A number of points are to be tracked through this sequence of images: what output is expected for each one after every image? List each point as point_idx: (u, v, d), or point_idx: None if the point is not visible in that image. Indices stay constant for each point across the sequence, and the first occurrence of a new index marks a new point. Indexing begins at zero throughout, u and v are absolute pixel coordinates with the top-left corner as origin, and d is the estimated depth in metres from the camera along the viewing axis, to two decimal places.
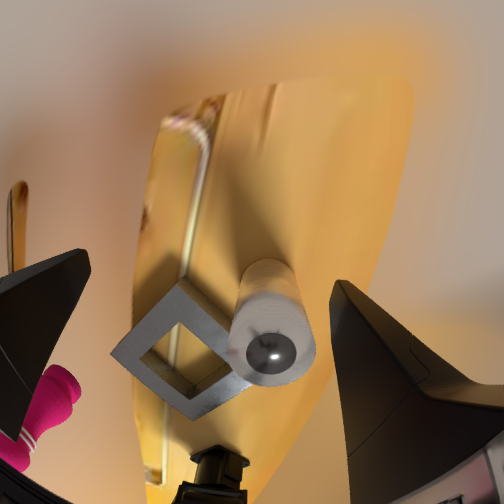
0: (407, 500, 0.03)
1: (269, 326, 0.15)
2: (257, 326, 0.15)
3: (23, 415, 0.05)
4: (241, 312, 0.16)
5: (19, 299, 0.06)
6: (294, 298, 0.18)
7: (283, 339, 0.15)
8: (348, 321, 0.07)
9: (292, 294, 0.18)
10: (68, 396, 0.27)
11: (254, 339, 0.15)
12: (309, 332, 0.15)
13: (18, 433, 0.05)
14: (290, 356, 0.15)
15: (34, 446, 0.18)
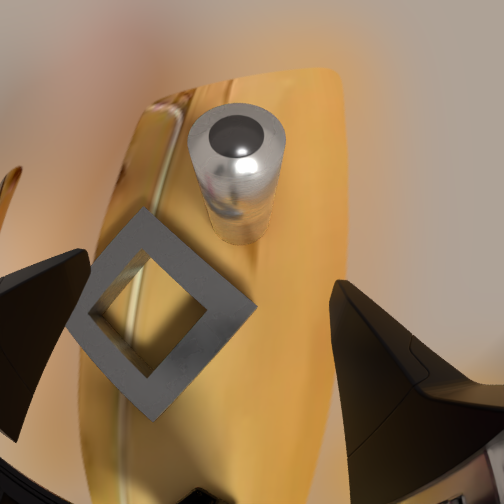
0: (407, 500, 0.03)
1: (231, 111, 0.14)
2: (219, 113, 0.14)
3: (23, 415, 0.05)
4: None
5: (19, 299, 0.06)
6: None
7: (246, 119, 0.14)
8: (348, 321, 0.07)
9: None
10: None
11: (216, 122, 0.14)
12: (272, 115, 0.14)
13: (18, 433, 0.05)
14: (257, 134, 0.13)
15: None
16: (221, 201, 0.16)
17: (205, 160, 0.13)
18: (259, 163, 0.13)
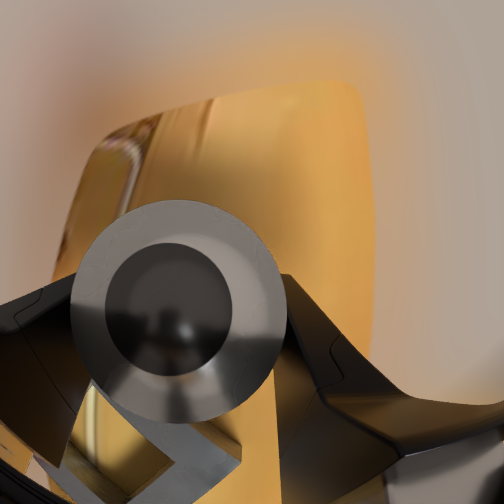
0: None
1: (156, 228, 0.06)
2: (131, 233, 0.06)
3: (65, 439, 0.05)
4: None
5: (65, 314, 0.06)
6: None
7: (190, 256, 0.06)
8: None
9: None
10: None
11: (122, 264, 0.06)
12: (255, 237, 0.06)
13: (61, 458, 0.05)
14: (215, 308, 0.06)
15: None
16: None
17: (104, 371, 0.05)
18: (220, 391, 0.05)
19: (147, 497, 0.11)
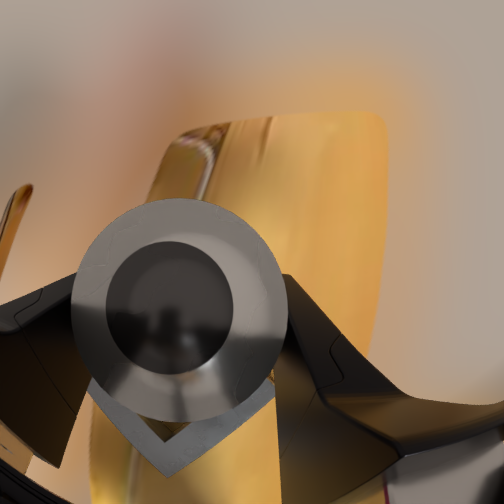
0: None
1: (158, 227, 0.06)
2: (132, 231, 0.06)
3: (65, 439, 0.05)
4: None
5: (65, 314, 0.06)
6: None
7: (191, 255, 0.06)
8: None
9: None
10: None
11: (123, 262, 0.06)
12: (256, 236, 0.06)
13: (61, 458, 0.05)
14: (216, 307, 0.06)
15: None
16: None
17: (105, 370, 0.05)
18: (221, 390, 0.05)
19: (198, 425, 0.17)
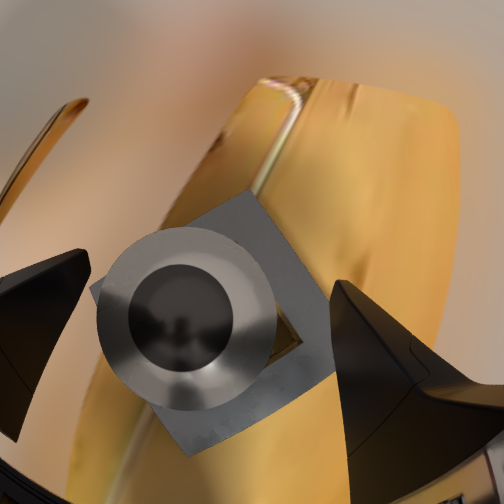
0: (407, 500, 0.03)
1: (170, 251, 0.07)
2: (148, 255, 0.07)
3: (23, 415, 0.05)
4: None
5: (19, 299, 0.06)
6: None
7: (199, 276, 0.07)
8: (348, 321, 0.07)
9: None
10: None
11: (142, 281, 0.07)
12: (251, 259, 0.07)
13: (18, 433, 0.05)
14: (219, 318, 0.07)
15: None
16: None
17: (128, 369, 0.07)
18: (223, 384, 0.07)
19: (252, 385, 0.14)
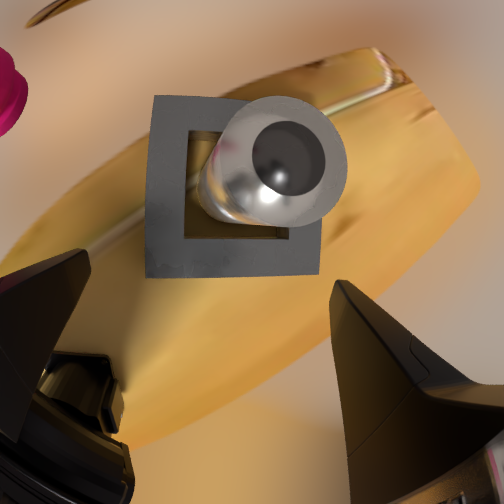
0: (407, 500, 0.03)
1: (305, 118, 0.10)
2: (291, 109, 0.10)
3: (23, 415, 0.05)
4: None
5: (19, 299, 0.06)
6: None
7: (316, 143, 0.10)
8: (348, 321, 0.07)
9: None
10: (1, 107, 0.12)
11: (280, 121, 0.09)
12: (345, 158, 0.10)
13: (18, 433, 0.05)
14: (314, 174, 0.10)
15: None
16: (220, 201, 0.12)
17: (233, 166, 0.09)
18: (290, 214, 0.10)
19: (235, 246, 0.18)
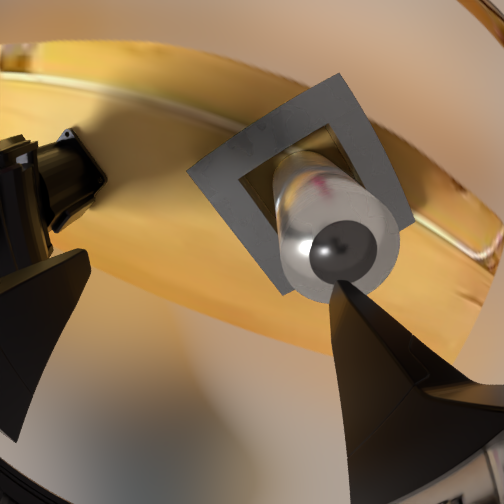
0: (407, 500, 0.03)
1: (385, 243, 0.10)
2: (385, 229, 0.10)
3: (23, 415, 0.05)
4: None
5: (19, 299, 0.06)
6: None
7: (368, 265, 0.11)
8: (348, 321, 0.07)
9: None
10: None
11: (368, 229, 0.10)
12: (372, 289, 0.12)
13: (18, 433, 0.05)
14: (342, 278, 0.11)
15: None
16: (280, 209, 0.13)
17: (306, 220, 0.10)
18: (301, 280, 0.11)
19: (259, 221, 0.20)
